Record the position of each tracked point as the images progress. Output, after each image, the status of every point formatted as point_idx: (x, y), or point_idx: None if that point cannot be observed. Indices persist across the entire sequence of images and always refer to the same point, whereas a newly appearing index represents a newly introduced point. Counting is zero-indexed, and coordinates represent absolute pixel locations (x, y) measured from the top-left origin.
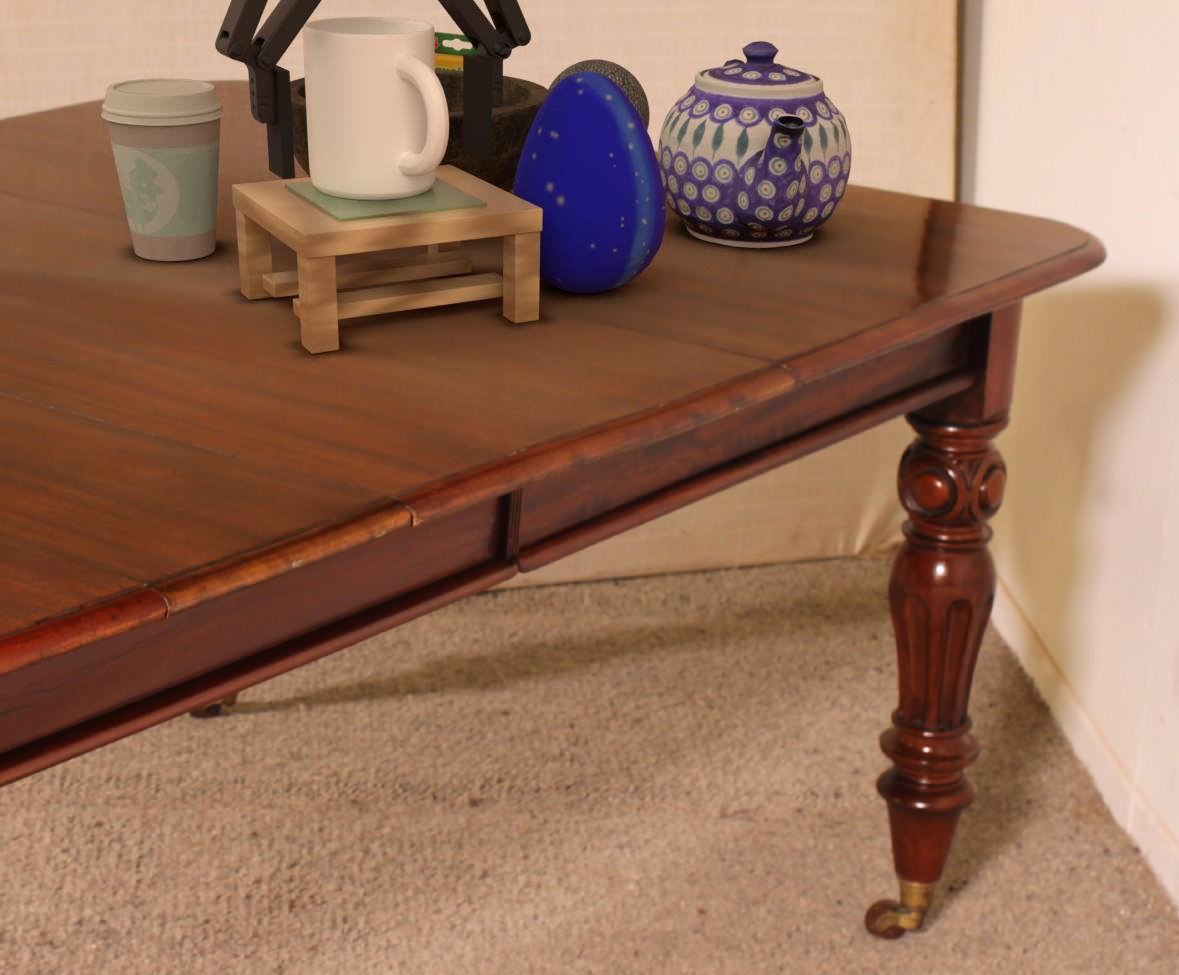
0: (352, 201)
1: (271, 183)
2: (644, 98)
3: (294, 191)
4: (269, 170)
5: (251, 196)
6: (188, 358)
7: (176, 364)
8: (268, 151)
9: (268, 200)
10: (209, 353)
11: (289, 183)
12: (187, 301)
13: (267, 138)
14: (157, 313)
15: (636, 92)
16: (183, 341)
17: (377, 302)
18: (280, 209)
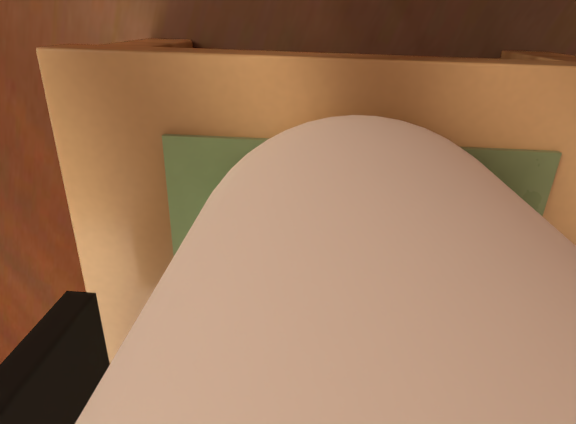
0: None
1: (139, 83)
2: None
3: (168, 203)
4: (67, 293)
5: (69, 190)
6: (43, 266)
7: (29, 276)
8: (39, 324)
9: (99, 239)
10: (67, 261)
11: (173, 137)
12: (59, 39)
13: (16, 348)
14: (11, 80)
15: None
16: (41, 211)
17: None
18: (109, 308)
